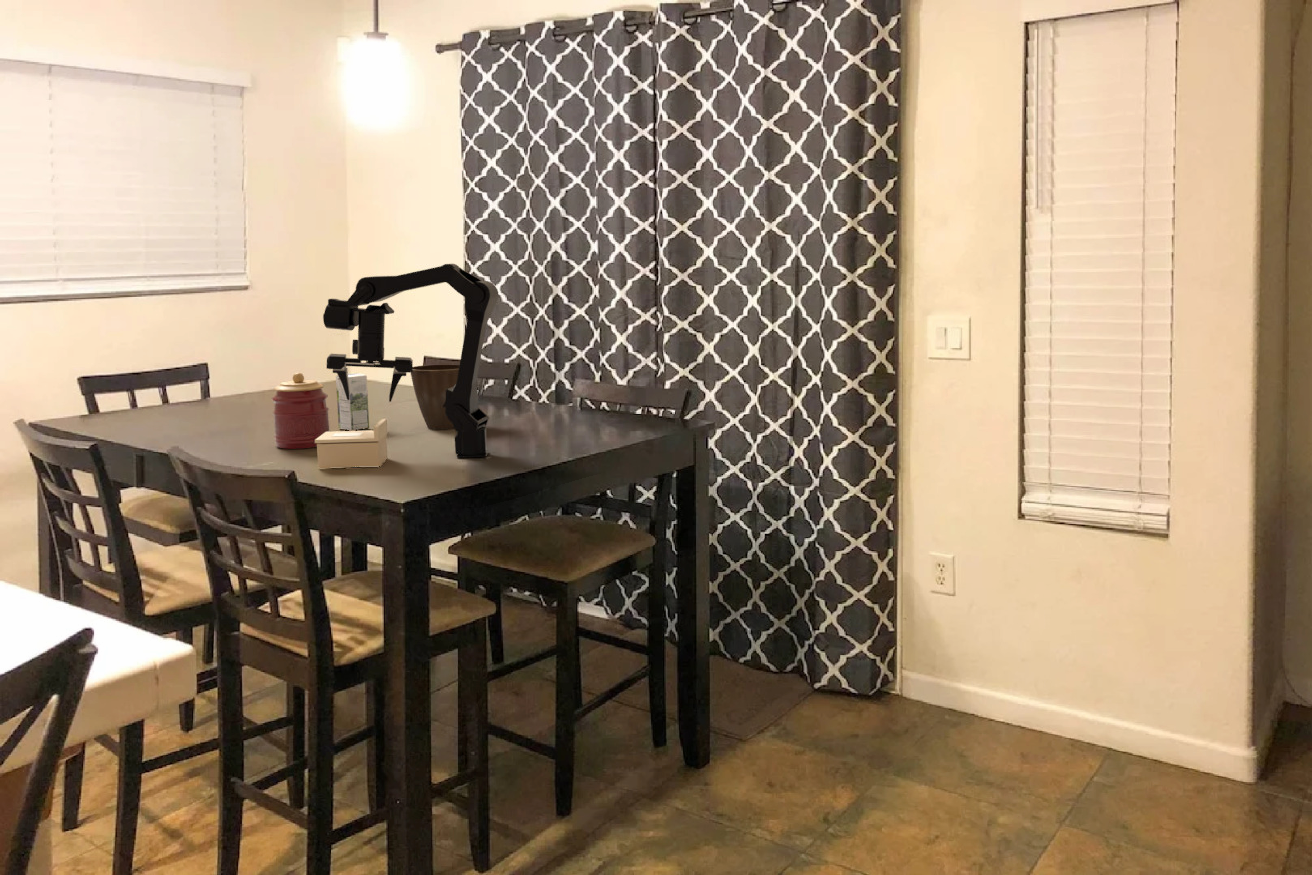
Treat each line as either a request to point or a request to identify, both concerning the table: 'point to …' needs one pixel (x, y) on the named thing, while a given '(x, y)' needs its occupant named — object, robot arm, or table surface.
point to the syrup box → (353, 403)
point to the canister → (299, 413)
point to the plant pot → (434, 392)
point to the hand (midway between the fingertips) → (369, 400)
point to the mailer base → (352, 454)
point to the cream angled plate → (355, 435)
